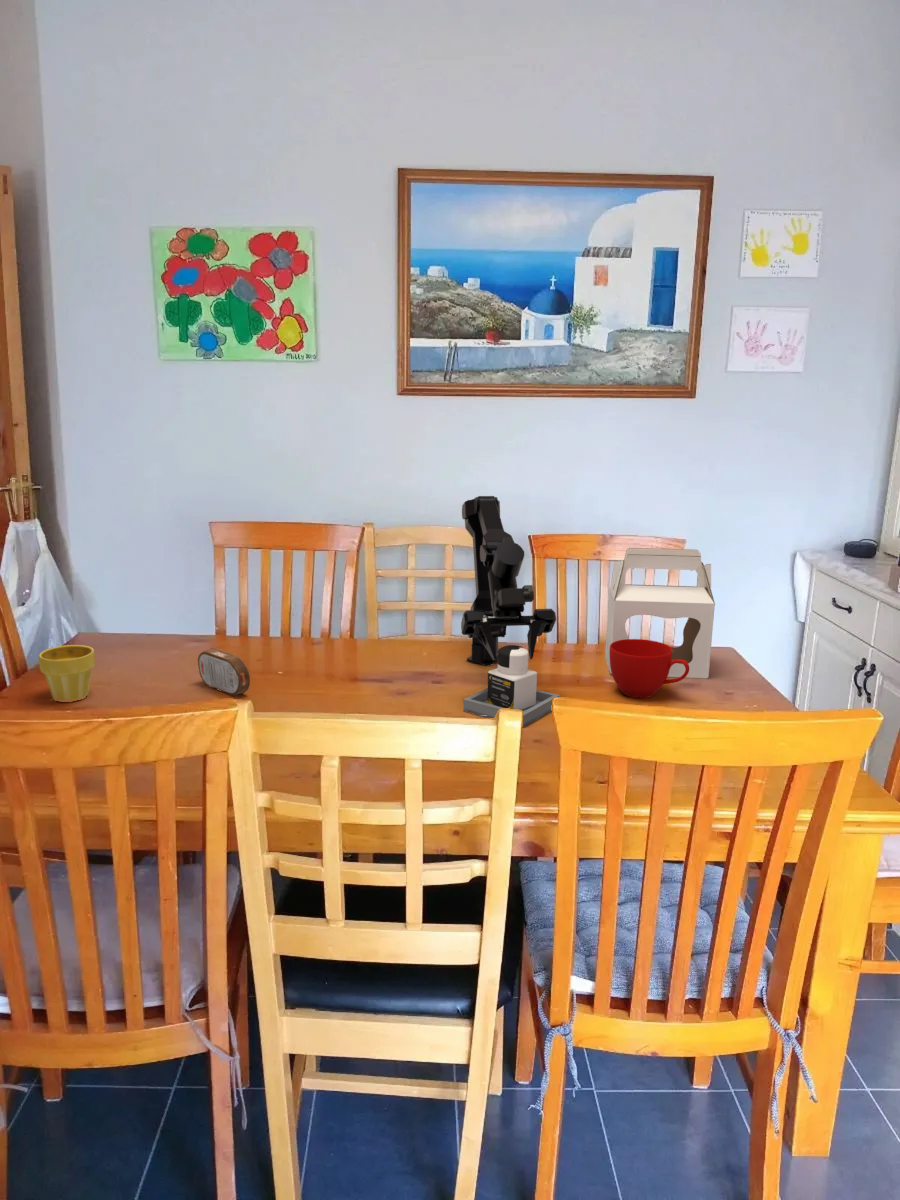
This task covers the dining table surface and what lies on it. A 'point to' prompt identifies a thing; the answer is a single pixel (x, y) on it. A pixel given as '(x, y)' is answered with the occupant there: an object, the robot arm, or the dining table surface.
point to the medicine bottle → (512, 680)
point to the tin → (224, 671)
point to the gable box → (665, 605)
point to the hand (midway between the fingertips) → (513, 658)
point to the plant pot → (68, 670)
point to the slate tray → (480, 707)
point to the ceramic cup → (642, 666)
